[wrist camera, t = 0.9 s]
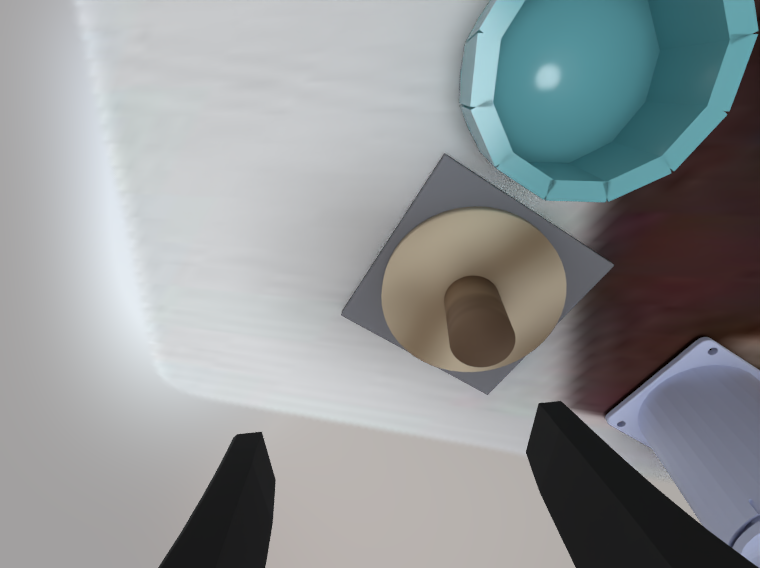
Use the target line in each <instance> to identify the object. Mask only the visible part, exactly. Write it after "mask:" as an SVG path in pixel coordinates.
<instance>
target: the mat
mask: <svg viewBox="0 0 760 568" xmlns="http://www.w3.org/2000/svg"><path fill="white" fill-rule="evenodd" d="M474 206H482V207H492V208H497V209H501V210H505V211H508V212H511V213H513V214H516V215H518V216H520V217H522V218H523V219H525V220H527V221H528V222H530V223H531V224H532V225H534V226H535V227H536V228H537V229H538V230H539V231H540V232H541V233H542V234H543V235H544V236H545V237H546V238H547V239H548V241H549V242H550V243H551V244H552V246H553V247H554V249H555V250H556V251H557V253H558V255H559V257H560V259H561V261H562V264H563V267H564V271H565V276H566V283H567V286H566V299H565V305H564V308H563V311H562V314H561V316H560V318H559V320H558V322H559V321H560V320H561V319H562V318H563V317H564V316H565V315H566V314H567V313H568V312H569V311H570V310H571V309H572V308H573V307H574V306H575V305H576V304H577V303H578V302H579V301H580V300H581V299H582V298H583V297H584V296H585V295H586V294H587V293H588V292H589V291H590V290H591V289H592V288H593V287H594V286H595V285H596V284H597V283H598V281H599V280H600V279H601V278H602V277H603V276H604V275H605V274H606V273H607V272H608V271H609V270H610V269H611V268H612V267H613V266H614V265H613V264H612V263H611V262H610V261H609V260H607V259H605V258H604V257H602V256H601V255H599V254H598V253H596V252H595V251H593V250H592V249H590V248H589V247H587V246H586V245H584V244H582V243H581V242H579V241H578V240H576V239H575V238H573V237H572V236H570V235H569V234H567V233H566V232H564V231H563V230H561V229H560V228H558V227H556V226H555V225H553V224H552V223H550V222H549V221H547V220H546V219H544V218H543V217H541V216H540V215H538V214H537V213H535V212H533V211H532V210H530V209H529V208H527V207H526V206H524V205H523V204H521V203H520V202H518V201H517V200H515V199H514V198H512V197H510V196H509V195H507V194H506V193H504V192H503V191H501V190H500V189H498V188H497V187H495V186H494V185H492V184H491V183H489V182H487V181H486V180H484V179H483V178H481V177H480V176H478V175H477V174H475V173H474V172H472V171H471V170H469V169H468V168H466V167H464V166H463V165H461V164H460V163H458V162H457V161H455V160H454V159H452V158H451V157H449V156H448V155H446V154H445V153H444V155H443V157H442V158H441V160H440V161H439V163H438V164H437V166H436V167H435V169H434V170H433V172H432V174H431V175H430V177H429V178H428V180H427V181H426V183H425V184H424V186H423V187H422V189H421V191H420V192H419V194H418V195H417V197H416V198H415V200H414V201H413V203H412V204H411V206H410V208H409V209H408V211H407V212H406V214H405V215H404V217H403V218H402V220H401V221H400V223H399V224H398V226H397V228H396V229H395V231H394V232H393V234H392V235H391V237H390V238H389V240H388V241H387V243H386V245H385V246H384V248H383V249H382V251H381V252H380V254H379V255H378V257H377V258H376V260H375V262H374V263H373V265H372V266H371V268H370V269H369V271H368V272H367V274H366V275H365V277H364V279H363V280H362V282H361V283H360V285H359V286H358V288H357V289H356V291H355V292H354V294H353V295H352V297H351V299H350V300H349V302H348V303H347V305H346V306H345V308H344V309H343V311H342V314H341V315H342V316H344V317H345V318H347V319H349V320H351V321H353V322H355V323H356V324H358V325H360V326H362V327H364V328H366V329H367V330H369V331H371V332H373V333H375V334H377V335H378V336H380V337H382V338H384V339H386V340H388V341H390V342H391V343H393V344H395V345H397V346H399V347H401V348H402V349H404V350H406V349H405V348H404V347H403V346H402V345H401V344H400V343H399V342H398V341H397V340H396V338H395V337H394V335H393V334H392V332H391V331H390V329H389V327H388V325H387V322H386V320H385V317H384V313H383V308H382V299H381V294H382V284H383V278H384V274H385V270H386V266H387V264H388V261H389V259H390V257H391V255H392V253H393V251H394V250H395V248H396V247H397V245H398V244H399V243H400V241H401V240H402V239H403V238H404V237H405V236H406V235H407V234H408V233H409V232H410V231H411V230H412V229H413V228H415V227H416V226H417V225H419V224H420V223H422V222H423V221H425V220H427V219H428V218H430V217H432V216H435V215H437V214H439V213H442V212H445V211H448V210H452V209H456V208H462V207H474ZM558 322H557V323H558ZM406 351H407V350H406ZM524 357H525V356H524ZM524 357H523V358H524ZM523 358H521V359H519V360H517V361H515V362H513V363H511V364H508V365H506V366H503V367H500V368H496V369H492V370H487V371H479V372H458V371H450V370H446V369H441V368H439V369H441V370H443V371H445V372H447V373H448V374H450V375H452V376H454V377H456V378H458V379H459V380H461V381H463V382H465V383H467V384H469V385H470V386H472V387H474V388H476V389H478V390H480V391H481V392H483V393H485V394H487V395H488V394H489V393H490V392H491V391H492V390H493V389H494V388H495V387H496V386H497V385H498V384H499V383H500V382H501V381H502V380H503V379H504V378H505V377H506V376H507V375H508V374H509V373H510V371H511V370H512V369H513V368H514V367H515V366H516V365H517V364H518V363H519V362H520V361H521V360H522V359H523ZM437 368H438V367H437Z"/></svg>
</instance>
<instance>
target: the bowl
mask: <svg viewBox="0 0 760 568" xmlns="http://www.w3.org/2000/svg"><path fill="white" fill-rule="evenodd" d="M757 31H758V24H757V18H756V11H755V4H754V0H490V1H489V3H488V4H487V6H486V8H485V9H484V11H483V12H482V14H481V15H480V16H479V18H478V20H477V22H476V24H475V26H474V28H473V30H472V31H471V33H470V35H469V36H468V38H467V40H466V44H465V45H464V54H463V59H462V64H461V71H460V86H459V90H460V98H459V103H461V105H459V106H460V108H461V110H462V112H463V116H464V118H465V121H466V124H467V127H468V129H469V131H470V133H471V135H472V136H473V138H474V140H475V142H476V144H477V147H478V149H479V151H480V152H481V153H482V154H483V155H484V156H485V157H486V158H487V159H488V161H489V162H490V163H491V164H492V165H493V166H494V167H495V168H496V169H498V170H499V171H501V172H502V173H504V174H505V175H507V176H508V177H510V178H511V179H513V180H514V181H516V182H517V183H519V184H520V185H522V186H524V187H525V188H527V189H528V190H530V191H531V192H533V193H534V194H536V195H537V196H539V197H540V198H542V199H545V200H549V201H581V202H606V200H607V201H608V202H609V201H611V200H613V199H616V198H618V197H620V196H622V195H624V194H627V193H629V192H631V191H633V190H635V189H638V188H640V187H642V186H644V185H647V184H649V183H651V182H653V181H655V180H658V179H660V178H662V177H664V176H666V175H669V174H671V170H672V171H675V170H676V169H677V168H678V167H679V166H680V164H681V163H682V162H683V161H684V160H685V159H686V158H687V157H688V156H689V155H690V154H691V153H692V152H693V151H694V150H695V149H696V147H697V146H698V145H699V144H700V143H701V142H702V141H703V140H704V139H705V138H706V137H707V136H708V135H709V134H710V133H711V131H712V130H713V129H714V128H715V127H716V126H717V125H718V124H719V123H720V122H721V121H722V120H723V119H724V118H725V117H726V115H727V114H726V113H725V112H724V111H730V109H731V106H732V103H733V100H734V98H735V95H736V92H737V90H738V87H739V84H740V82H741V79H742V76H743V73H744V71H745V68H746V65H747V63H748V60H749V57H750V54H751V52H752V49H753V46H754V44H755V41H756V38H757V36H758V34H753V33H755V32H757Z"/></svg>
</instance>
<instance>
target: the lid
mask: <svg viewBox="0 0 760 568" xmlns="http://www.w3.org/2000/svg"><path fill="white" fill-rule="evenodd" d="M566 286H567V283H566V276H565V271H564V267H563V264H562V261H561V259H560V257H559V255H558V253H557V251H556V250H555V249H554V247H553V246H552V244H551V243H550V242H549V241H548V239H547V238H546V237H545V236H544V235H543V234H542V233H541V232H540V231H539V230H538V229H537V228H536V227H535V226H534V225H532V224H531V223H530V222H528V221H527V220H525V219H523V218H522V217H520V216H518V215H516V214H513V213H511V212H508V211H505V210H501V209H497V208H492V207H482V206H474V207H462V208H456V209H452V210H448V211H445V212H442V213H439V214H437V215H435V216H432V217H430V218H428V219H427V220H425V221H423V222H422V223H420V224H419V225H417V226H416V227H415V228H413V229H412V230H411V231H410V232H409V233H408V234H407V235H406V236H405V237H404V238H403V239H402V240H401V241H400V243H399V244H398V245H397V247H396V248H395V250H394V251H393V253H392V255H391V257H390V259H389V261H388V264H387V266H386V270H385V274H384V278H383V284H382V294H381V299H382V308H383V313H384V317H385V320H386V322H387V325H388V327H389V329H390V331H391V332H392V334H393V335H394V337H395V338H396V340H397V341H398V342H399V343H400V344H401V345H402V346H403V347H404V348H405V349H406V350H407V351H408V352H409V353H411V354H412V355H413V356H415V357H417V358H418V359H420V360H421V361H423V362H426V363H428V364H430V365H432V366H435V367H438V368H441V369H446V370H450V371H458V372H479V371H487V370H492V369H496V368H500V367H503V366H506V365H508V364H511V363H513V362H515V361H517V360H519V359H521V358H523V357H524V356H526V355H528V354H529V353H530V352H532V351H533V350H535V349H536V348H537V347H538V346H539V345H540V344H541V343H542V342H543V341H544V340H545V339H546V338H547V337H548V336H549V335H550V333H551V332H552V330H553V329H554V327H555V326H556V324H557V322H558V320H559V318H560V316H561V314H562V311H563V308H564V305H565V299H566Z"/></svg>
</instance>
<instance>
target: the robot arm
mask: <svg viewBox="0 0 760 568" xmlns="http://www.w3.org/2000/svg"><path fill="white" fill-rule="evenodd" d="M711 348H713V349H712V350H710V351H709V349H711ZM605 419H606V421H607V423H608V424H609V425H611V426H613V427H614V428H616V429H618V430H620V431H621V432H623V433H625V434H627V435H629V436H630V437H632V438H634V439H636V440H637V441H639V442H641V443H643V444H645V445H646V446H648V447H650V448H652V449H653V451H654V452H655V454H656V455H657V457H658V458H659V460H660V461H661V463H662V464H663V466H664V467H665V469H666V470H667V472H668V473H669V475H670V477H671V478H672V480H673V481H674V483H675V484H676V486H677V487H678V489H679V490H680V492H681V493H682V495H683V496H684V498H685V499H686V501H687V502H688V503H689V505H690V507H691V508H692V510H693V511H694V513H695V515H696V516H697V518H698V519H699V521H700V522H701V524H702V525H703V526H702V525H701V524H700V523H698V522H697V521H696V520H695V519H693V518H692V517H691V516H690V515H688V514H687V513H686V512H685V511H683V510H682V509H681V508H680V507H679V506H677V505H676V504H675V503H674V502H672V501H671V500H670V499H669V498H668V497H666V496H665V495H664V494H663V493H662V492H661V491H659V490H658V489H657V488H656V487H654V485H652V484H651V483H650V482H649V481H648V480H647V479H645V478H644V477H643V476H642V475H641V474H640V473H639V472H638V471H636V470H635V469H634V468H633V467H632V466H631V465H630V464H628V463H627V462H626V461H625V460H624V459H623V458H622V457H621V456H620V455H618V454H617V453H616V452H615V451H614V450H613V449H612V448H611V447H610V446H609V445H608V444H606V443H605V442H604V441H603V440H602V439H601V438H600V437H599V436H598V435H597V434H596V433H595V432H594V431H593V430H591V429H590V428H589V427H588V426H587V425H586V424H585V423H584V422H583V421H582V420H581V419H580V418H579V417H578V416H577V415H576V414H574V413H573V412H572V411H571V410H570V409H569V408H568V407H567V406H566V405H565V404H564V403H563V402H561V401H557V402H548V403H539V404H538V408H537V412H536V416H535V420H534V423H533V427H532V431H531V435H530V438H529V442H528V446H527V450H526V454H527V457H528V460H529V462H530V466H531V468H532V471H533V474H534V477H535V480H536V483H537V485H538V488H539V491H540V493H541V496H542V498H543V500H544V502H545V504H546V506H547V508H548V511H549V513H550V515H551V517H552V519H553V521H554V523H555V525H556V527H557V529H558V531H559V534H560V536H561V538H562V540H563V542H564V544H565V546H566V548H567V550H568V552H569V554H570V556H571V558H572V561H573V563H574V565H575V567H576V568H760V370H759V369H757V368H756V367H754V366H753V365H751V364H750V363H748V362H746V361H745V360H743V359H742V358H740V357H739V356H737V355H736V354H734V353H732V352H731V351H729V350H728V349H726V348H725V347H723V346H722V345H720V344H719V343H717V342H715V341H714V340H712V339H711V338H709V337H702V338H699V339H698V340H696V341H695V342H694V343H692V344H691V345H690V346H689V347H688V348H686V349H685V350H684V351H683V352H682V353H680V354H679V355H678V356H677V357H675V358H674V359H673V360H672V361H671V362H669V363H668V364H667V365H666V366H665V367H663V368H662V369H661V370H660V371H659V372H657V373H656V374H655V375H654V376H652V377H651V378H650V379H649V380H648V381H646V382H645V383H644V384H643V385H642V386H640V387H639V388H638V389H637V390H635V391H634V392H633V393H632V394H631V395H629V396H628V397H627V398H626V399H625V400H623V401H622V402H621V403H620V404H618V405H617V406H616V407H615V408H614V409H612V410H611V411H610V412H609V413H608V414H607V415H606V417H605ZM620 421H621V422H620ZM274 496H275V477H274V473H273V470H272V466H271V463H270V459H269V456H268V452H267V449H266V445H265V442H264V438H263V435H262V432H256V433H246V434H237V435H236V436H235V437H234V438H233V440H232V442H231V444H230V446H229V448H228V450H227V452H226V454H225V456H224V458H223V460H222V462H221V464H220V465H219V467H218V469H217V471H216V473H215V475H214V477H213V478H212V480H211V482H210V484H209V485H208V487H207V489H206V491H205V493H204V495H203V496H202V498H201V500H200V501H199V503H198V505H197V506H196V508H195V510H194V511H193V513H192V515H191V516H190V518H189V520H188V522H187V524H186V525H185V527H184V528H183V530H182V532H181V533H180V535H179V537H178V538H177V540H176V541H175V543H174V544H173V546H172V547H171V549H170V550H169V552H168V554H167V555H166V557H165V558H164V560H163V561H162V563H161V564H160V566H159V567H158V568H265V565H266V560H267V554H268V548H269V541H270V536H271V529H272V523H273V522H272V521H273V509H274Z"/></svg>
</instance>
